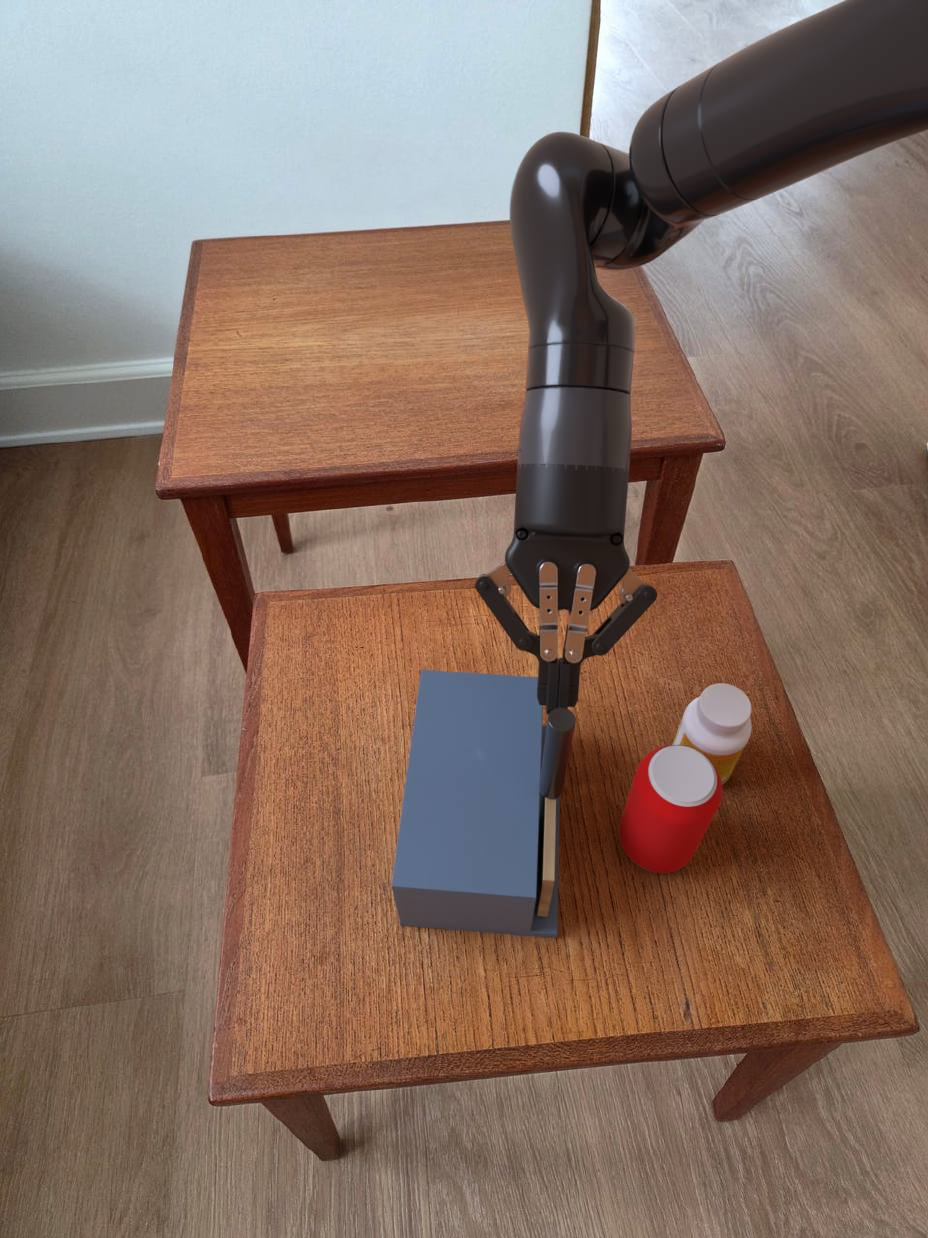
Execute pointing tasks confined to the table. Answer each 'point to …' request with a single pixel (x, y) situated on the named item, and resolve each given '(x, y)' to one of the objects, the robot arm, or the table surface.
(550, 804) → the brown flat handled piece
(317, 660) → the table surface
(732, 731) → the supplement bottle
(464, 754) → the cabinet
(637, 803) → the beverage can
